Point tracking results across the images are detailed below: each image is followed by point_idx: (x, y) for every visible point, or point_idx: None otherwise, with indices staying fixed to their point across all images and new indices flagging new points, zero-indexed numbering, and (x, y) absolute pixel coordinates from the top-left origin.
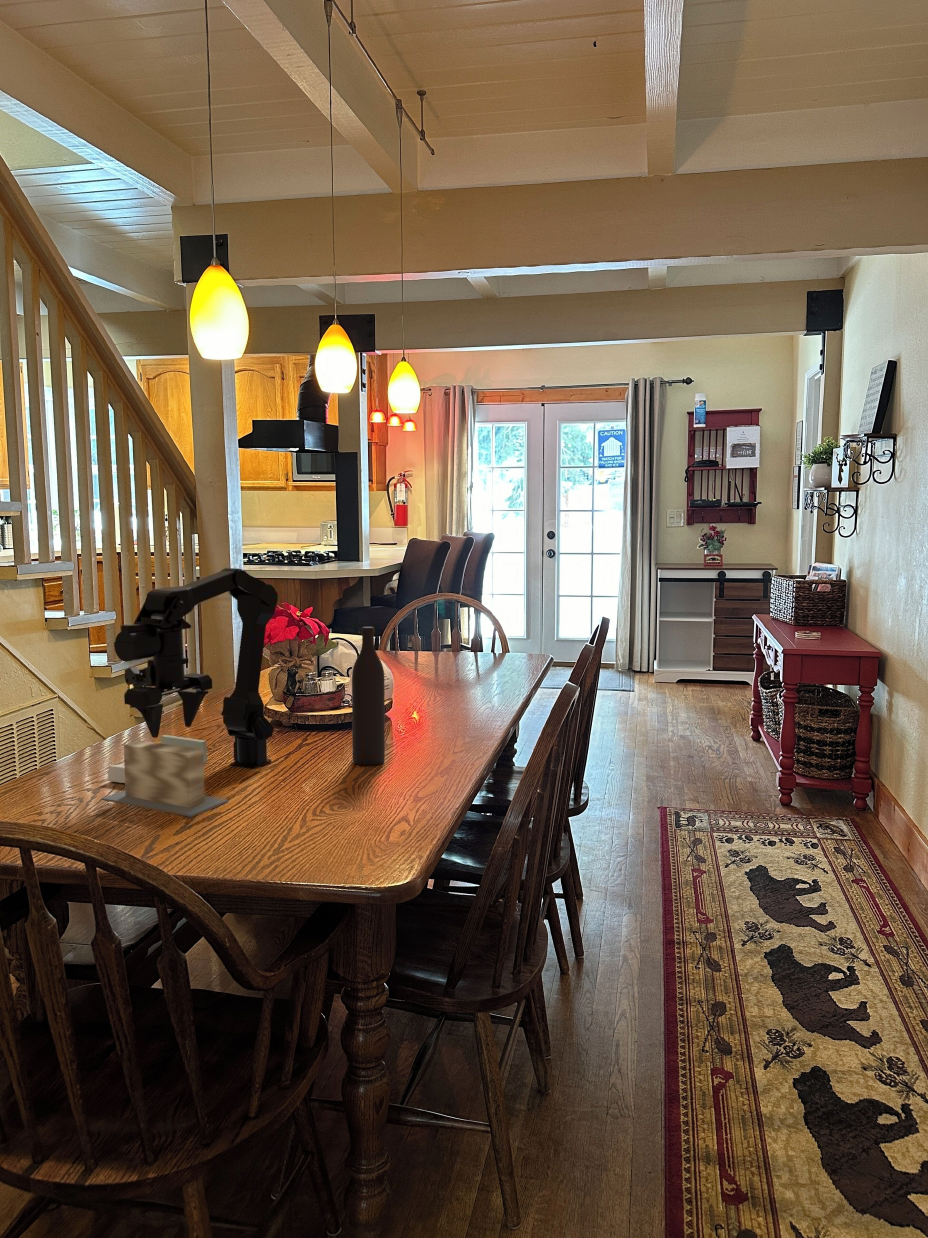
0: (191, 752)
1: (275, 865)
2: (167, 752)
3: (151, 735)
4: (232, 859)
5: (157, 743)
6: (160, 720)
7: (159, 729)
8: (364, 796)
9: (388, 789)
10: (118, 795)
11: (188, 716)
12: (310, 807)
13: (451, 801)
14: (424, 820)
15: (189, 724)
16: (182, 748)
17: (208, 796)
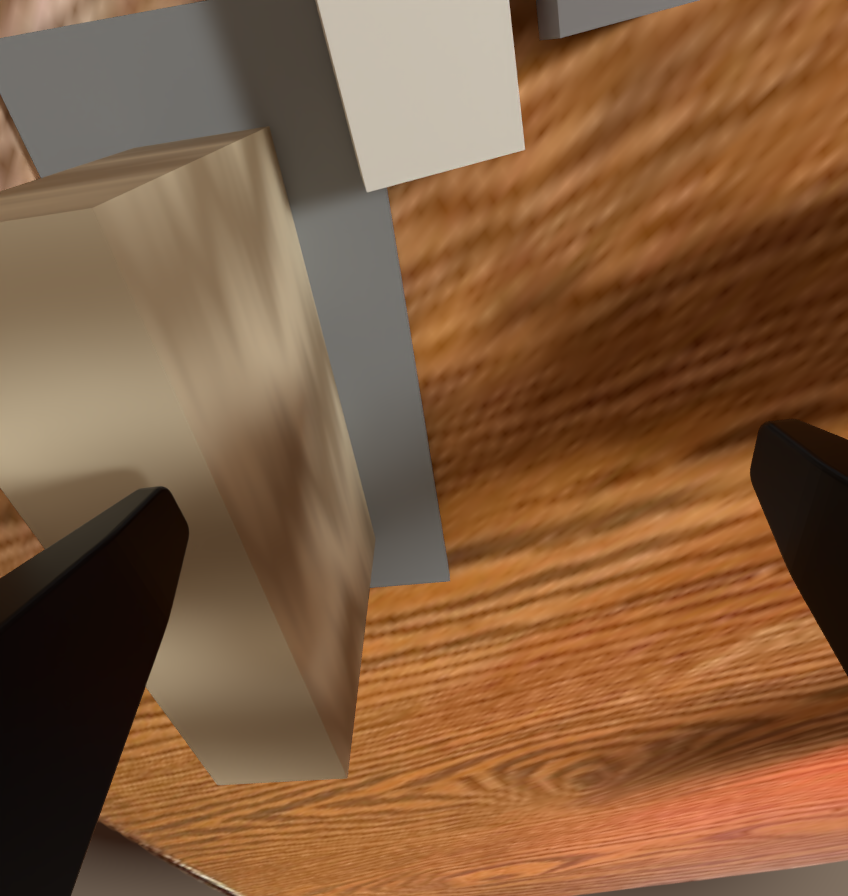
0: (259, 773)
1: (215, 836)
2: (151, 684)
3: (122, 501)
4: (163, 792)
5: (204, 492)
6: (93, 803)
7: (159, 640)
8: (705, 773)
9: (794, 781)
10: (95, 95)
11: (842, 578)
12: (547, 740)
13: (737, 867)
14: (588, 875)
15: (764, 505)
16: (275, 702)
17: (434, 506)
